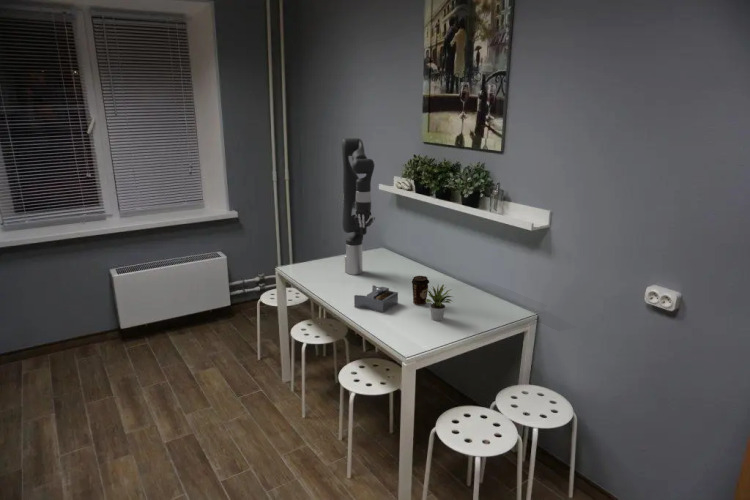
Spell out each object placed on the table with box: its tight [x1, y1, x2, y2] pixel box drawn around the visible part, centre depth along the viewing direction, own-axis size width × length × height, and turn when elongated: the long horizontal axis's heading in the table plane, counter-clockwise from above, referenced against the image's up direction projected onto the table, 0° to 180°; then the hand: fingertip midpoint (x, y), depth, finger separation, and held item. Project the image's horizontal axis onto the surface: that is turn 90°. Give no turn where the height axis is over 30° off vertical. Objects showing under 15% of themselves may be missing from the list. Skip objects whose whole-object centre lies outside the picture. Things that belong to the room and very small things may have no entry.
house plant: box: [424, 283, 453, 322], centre depth 222 cm, size 14×14×16 cm
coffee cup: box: [411, 275, 430, 306], centre depth 241 cm, size 9×8×13 cm
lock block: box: [376, 294, 389, 300], centre depth 241 cm, size 8×9×4 cm
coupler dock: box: [353, 284, 399, 313], centre depth 240 cm, size 16×17×9 cm
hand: (363, 234), depth 248 cm, fingers closed
